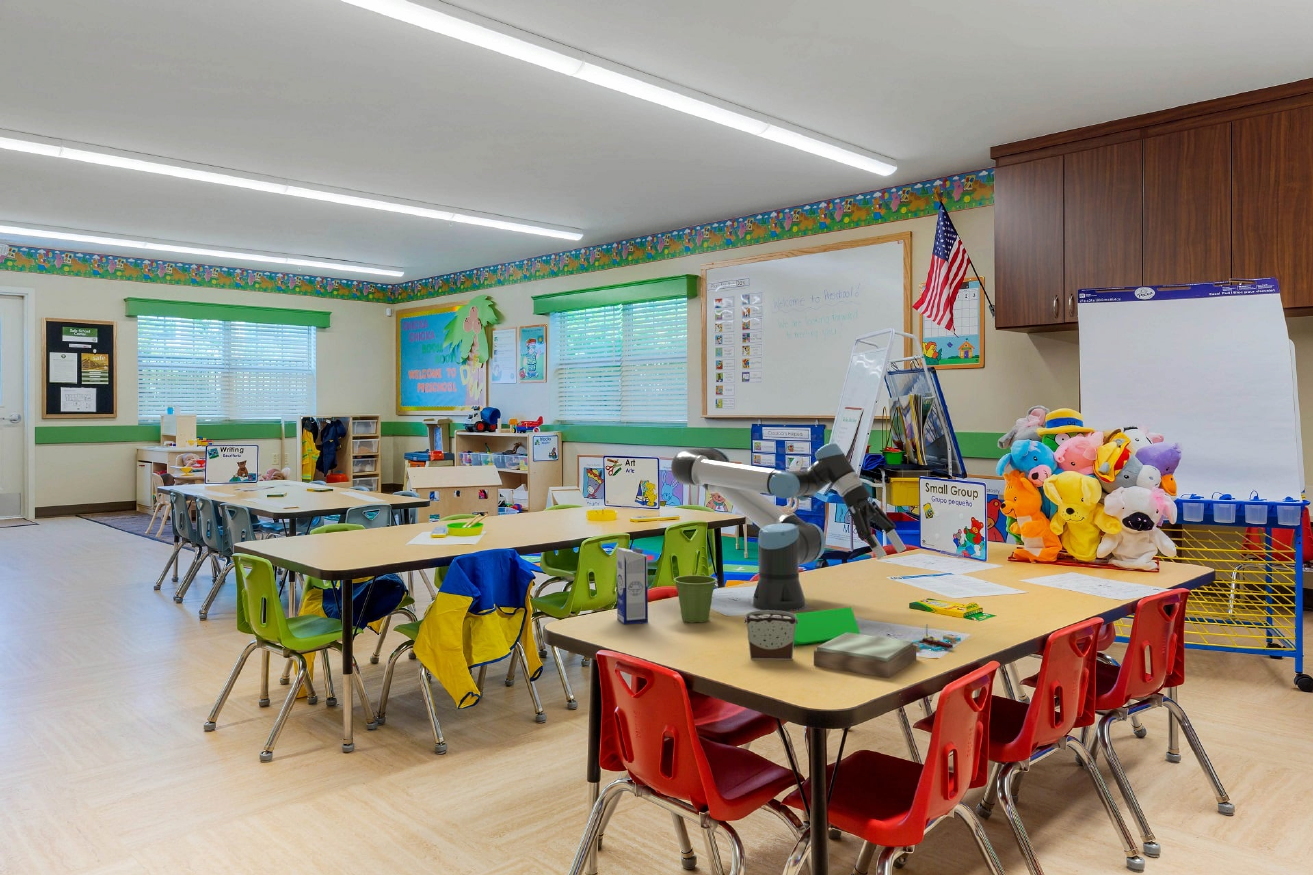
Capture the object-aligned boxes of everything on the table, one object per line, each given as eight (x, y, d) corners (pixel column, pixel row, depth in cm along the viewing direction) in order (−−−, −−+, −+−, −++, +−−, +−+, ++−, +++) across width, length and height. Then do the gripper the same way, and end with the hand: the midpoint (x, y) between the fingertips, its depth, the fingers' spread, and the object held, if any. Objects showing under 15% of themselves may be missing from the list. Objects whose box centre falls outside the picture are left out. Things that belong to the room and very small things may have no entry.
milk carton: (617, 618, 236) (616, 546, 236) (640, 616, 238) (639, 545, 238) (624, 624, 229) (623, 549, 229) (648, 622, 231) (647, 548, 231)
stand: (813, 665, 189) (813, 647, 189) (845, 648, 203) (845, 631, 203) (888, 677, 179) (888, 658, 179) (916, 659, 193) (916, 641, 193)
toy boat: (977, 646, 206) (945, 638, 214) (977, 624, 206) (945, 616, 213) (921, 659, 195) (889, 650, 203) (921, 635, 195) (889, 627, 203)
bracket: (839, 647, 220) (831, 619, 223) (860, 635, 212) (851, 606, 216) (773, 655, 212) (765, 627, 215) (792, 643, 204) (783, 614, 207)
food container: (797, 652, 200) (796, 609, 200) (798, 659, 194) (798, 615, 194) (744, 651, 201) (743, 609, 201) (744, 658, 195) (743, 615, 195)
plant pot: (669, 624, 229) (668, 582, 229) (679, 614, 241) (679, 574, 241) (712, 626, 226) (712, 583, 226) (721, 616, 238) (720, 576, 237)
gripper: (842, 486, 239) (884, 552, 231) (880, 481, 258) (920, 541, 251) (822, 501, 243) (863, 566, 235) (861, 494, 262) (900, 554, 255)
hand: (892, 554), depth 243 cm, fingers open, 13 cm apart
